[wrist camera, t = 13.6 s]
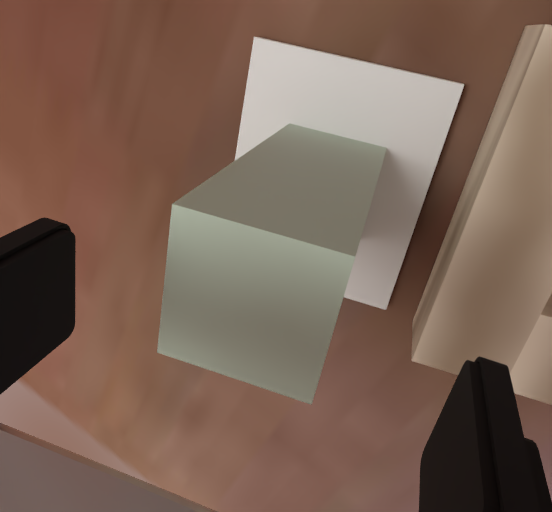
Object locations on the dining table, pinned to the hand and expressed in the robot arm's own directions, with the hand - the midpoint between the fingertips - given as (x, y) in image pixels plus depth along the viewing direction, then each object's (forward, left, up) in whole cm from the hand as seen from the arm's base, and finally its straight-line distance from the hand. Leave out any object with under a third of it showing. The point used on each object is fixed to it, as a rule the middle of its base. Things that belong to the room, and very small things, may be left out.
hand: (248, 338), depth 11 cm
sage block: (0, 0, -13) cm, 13 cm away
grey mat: (0, 0, -14) cm, 14 cm away
